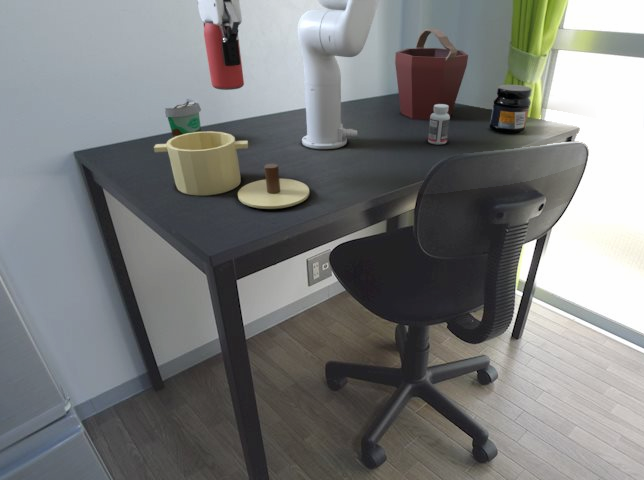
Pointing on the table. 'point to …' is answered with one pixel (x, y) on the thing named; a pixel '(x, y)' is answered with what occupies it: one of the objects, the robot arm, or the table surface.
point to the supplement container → (510, 109)
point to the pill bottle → (439, 125)
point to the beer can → (220, 60)
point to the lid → (273, 191)
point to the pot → (204, 162)
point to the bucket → (429, 76)
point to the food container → (184, 118)
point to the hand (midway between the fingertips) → (224, 62)
